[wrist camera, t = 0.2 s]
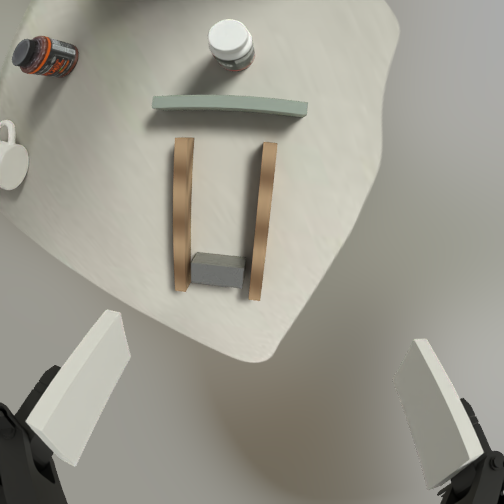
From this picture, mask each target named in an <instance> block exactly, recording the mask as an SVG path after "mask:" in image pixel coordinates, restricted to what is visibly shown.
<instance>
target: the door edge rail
mask: <svg viewBox="0 0 504 504" xmlns="http://www.w3.org/2000/svg"><path fill="white" fill-rule="evenodd" d="M307 107H308V103H307V102H300V101H293V100H284V99H275V98H264V97H252V96H234V95H171V96H154V97H153V102H152V108H153V109H158V110H163V111H167V110H221V111H241V112H256V113H267V114H277V115H286V116H294V117H302V118H303V117H304V116H306V115H307Z"/></svg>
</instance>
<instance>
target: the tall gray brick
mask: <svg viewBox="0 0 504 504" xmlns="http://www.w3.org/2000/svg"><path fill="white" fill-rule="evenodd" d="M245 263H246V257H237V256H228V255H218V254H209V253H200V252H197V254H196V255H195V257H194V259H193V260H192V262H191V282H193V283H200V284H209V285H217V286H225V287H234V288H242V286H243V281H244V274H245Z"/></svg>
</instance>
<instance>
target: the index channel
mask: <svg viewBox="0 0 504 504" xmlns="http://www.w3.org/2000/svg"><path fill="white" fill-rule="evenodd" d="M193 149H194V138H175V149H174V175H173V251H174V277H175V290H176V291H183V292H186V290H187V288H188V287H189V285H190V283H191V194H192V168H193ZM276 153H277V143H270V142H264V143H263V153H262V164H261V174H260V185H259V195H258V206H257V217H256V227H255V238H254V248H253V259H252V269H251V279H250V290H249V300H257V301H260V297H261V289H262V280H263V272H264V263H265V254H266V246H267V237H268V228H269V219H270V210H271V201H272V191H273V182H274V172H275V163H276Z"/></svg>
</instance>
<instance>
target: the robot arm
mask: <svg viewBox="0 0 504 504" xmlns="http://www.w3.org/2000/svg"><path fill="white" fill-rule="evenodd" d="M130 357H131V355H130V352H129V347H128V343H127V340H126V335H125V331H124V326H123V322H122V318H121V313H120V312H116V311H111V310H107V309H106V311H105V312H104V313H103V314H102V315H101V317H100V318H99V319H98V320H97V321H96V323H95V324H94V326H93V327H92V328H91V329H90V330H89V332H88V333H87V334H86V336H85V337H84V338H83V339H82V341H81V342H80V343H79V345H78V346H77V347H76V349H75V350H74V351H73V353H72V354H71V355H70V357H69V358H68V359H67V361H66V362H65V363H64V365H63V366H62V368H61V367H59V366H56V365H54V366H53V367H51V368H50V369H49V370H47V371H46V372H45V373H44V374H43V376H42V377H41V378H40V380H39V383H37V384H36V385H35V387H34V390H32V391H31V393H30V394H29V395H28V397H27V398H26V400H25V401H24V403H23V404H22V406H21V407H20V409H19V410H18V412H17V413H16V414H15V416H14V415H13V414H12V413H11V411H10V410H9V409H8V408H7V406H6V405H4V404H3V403H0V504H68V503H67V501H66V498H65V495H64V493H63V490H62V487H61V484H60V481H59V478H58V474H57V471H56V468H55V464H54V461H53V459H52V455H53V453H55V454H56V455H57V456H58V457H59V458H60V459H61V460H63V461H65V462H67V463H69V464H71V465H73V466H75V467H76V465H77V463H78V461H79V458H80V456H81V454H82V452H83V450H84V447H85V445H86V443H87V441H88V439H89V437H90V435H91V433H92V431H93V429H94V427H95V425H96V423H97V421H98V418H99V416H100V414H101V413H102V411H103V408H104V407H105V405H106V403H107V401H108V399H109V397H110V395H111V393H112V391H113V389H114V387H115V385H116V383H117V382H118V380H119V378H120V376H121V374H122V372H123V370H124V369H125V367H126V365H127V363H128V361H129V359H130ZM392 380H393V383H394V385H395V388H396V391H397V394H398V396H399V399H400V401H401V405H402V408H403V410H404V413H405V416H406V419H407V422H408V425H409V428H410V431H411V434H412V437H413V440H414V444H415V447H416V450H417V454H418V457H419V460H420V463H421V468H422V471H423V475H424V479H425V482H426V486H427V490H430V489H433V488H436V487H438V486H441V485H443V484H444V483H445V482H447V481H448V480H450V479H451V484H449V485H447V486H446V487H445V488H443V489H442V490H440V491H439V492H438V494H437V495H438V496H439V495H441V494H442V493H444V492H445V491H446V492H445V493H444V494H443V495H442V496H441V497H443V499H442V501H441V504H504V494H503V490H504V456H503V454H502V453H500V452H498V451H492V450H491V448H490V446H489V444H488V442H487V439H486V437H485V435H484V432H483V430H482V428H481V426H480V424H478V420H477V418H476V417H475V413H474V411H473V409H472V407H471V405H470V404H469V403H468V402H467V401H466V400H465V399H464V398H461V399H459V397H458V395H457V393H456V391H455V389H454V387H453V385H452V383H451V381H450V379H449V377H448V376H447V374H446V372H445V370H444V368H443V367H442V365H441V363H440V361H439V359H438V358H437V356H436V354H435V353H434V351H433V349H432V348H431V346H430V344H429V343H428V341H427V339H414V340H413V342H412V344H411V346H410V348H409V350H408V352H407V354H406V356H405V358H404V359H403V361H402V363H401V365H400V367H399V369H398V371H397V372H396V374H395V376H394V377H393V379H392Z"/></svg>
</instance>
